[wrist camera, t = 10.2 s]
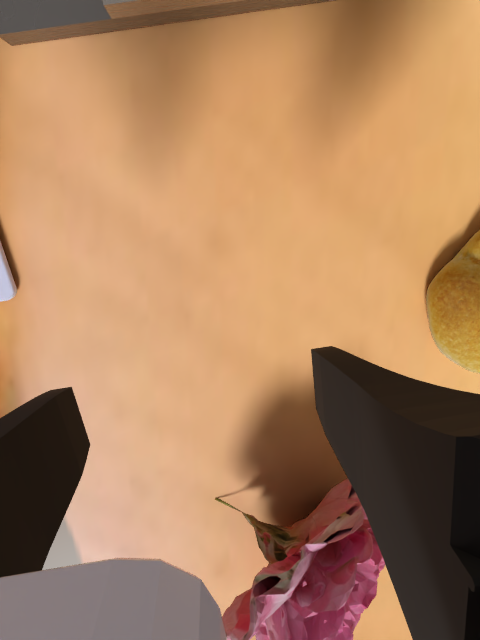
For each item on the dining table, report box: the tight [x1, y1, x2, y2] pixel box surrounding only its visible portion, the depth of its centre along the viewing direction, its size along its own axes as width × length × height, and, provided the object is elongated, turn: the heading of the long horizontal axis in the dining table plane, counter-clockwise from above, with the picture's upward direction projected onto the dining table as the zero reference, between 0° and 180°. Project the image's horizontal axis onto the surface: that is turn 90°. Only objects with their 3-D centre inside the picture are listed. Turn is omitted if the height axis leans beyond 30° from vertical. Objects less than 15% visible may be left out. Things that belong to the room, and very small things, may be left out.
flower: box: [215, 478, 385, 640], centre depth 22 cm, size 11×10×10 cm
